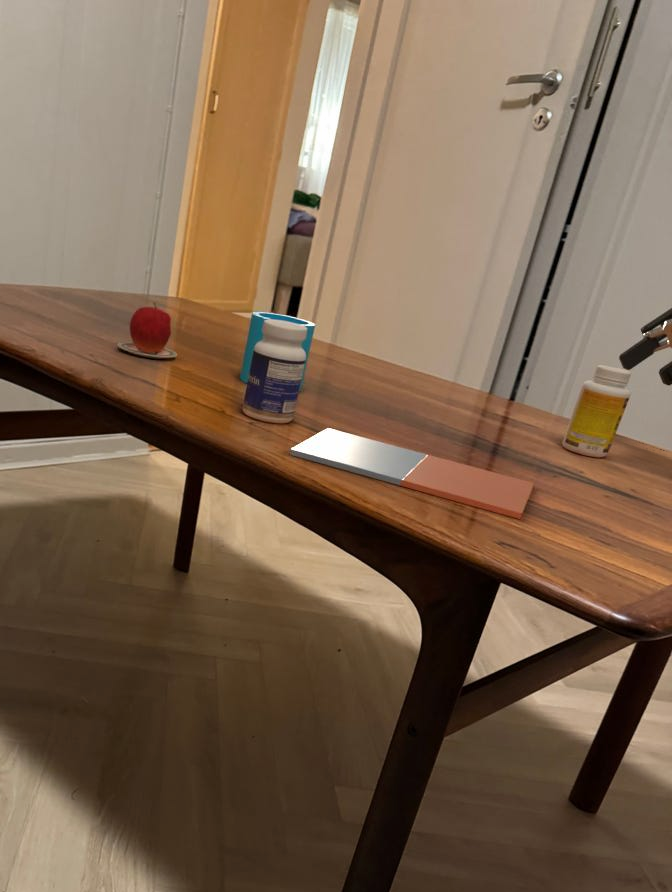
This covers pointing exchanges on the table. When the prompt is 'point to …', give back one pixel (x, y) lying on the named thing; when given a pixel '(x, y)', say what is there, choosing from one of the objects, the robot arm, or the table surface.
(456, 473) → the sorting board
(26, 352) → the table surface
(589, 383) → the supplement bottle
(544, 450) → the table surface
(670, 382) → the robot arm
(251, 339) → the mug
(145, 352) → the apple
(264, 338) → the pill bottle
